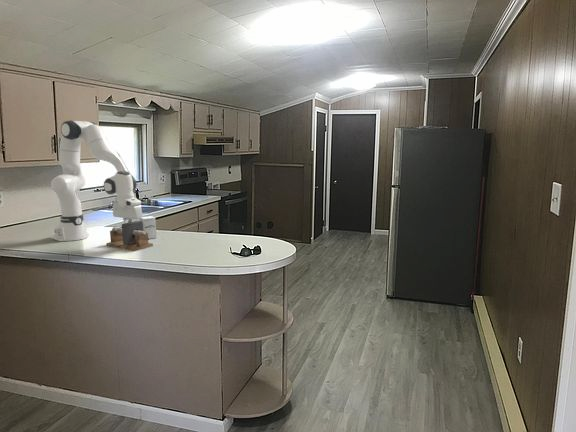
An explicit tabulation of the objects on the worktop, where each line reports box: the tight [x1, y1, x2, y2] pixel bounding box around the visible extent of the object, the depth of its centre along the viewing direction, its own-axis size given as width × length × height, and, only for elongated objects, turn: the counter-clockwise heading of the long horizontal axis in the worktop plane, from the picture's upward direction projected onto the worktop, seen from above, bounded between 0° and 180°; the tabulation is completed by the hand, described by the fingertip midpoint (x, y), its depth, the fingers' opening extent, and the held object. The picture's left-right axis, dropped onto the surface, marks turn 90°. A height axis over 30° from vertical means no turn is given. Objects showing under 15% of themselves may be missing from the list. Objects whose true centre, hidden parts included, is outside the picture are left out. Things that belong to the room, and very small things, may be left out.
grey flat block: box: [121, 220, 143, 245], centre depth 252 cm, size 4×11×11 cm, turn 148°
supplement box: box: [139, 215, 158, 240], centre depth 273 cm, size 7×7×13 cm
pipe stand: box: [105, 226, 154, 252], centre depth 254 cm, size 24×12×10 cm, turn 58°
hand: (128, 225), depth 253 cm, fingers closed
